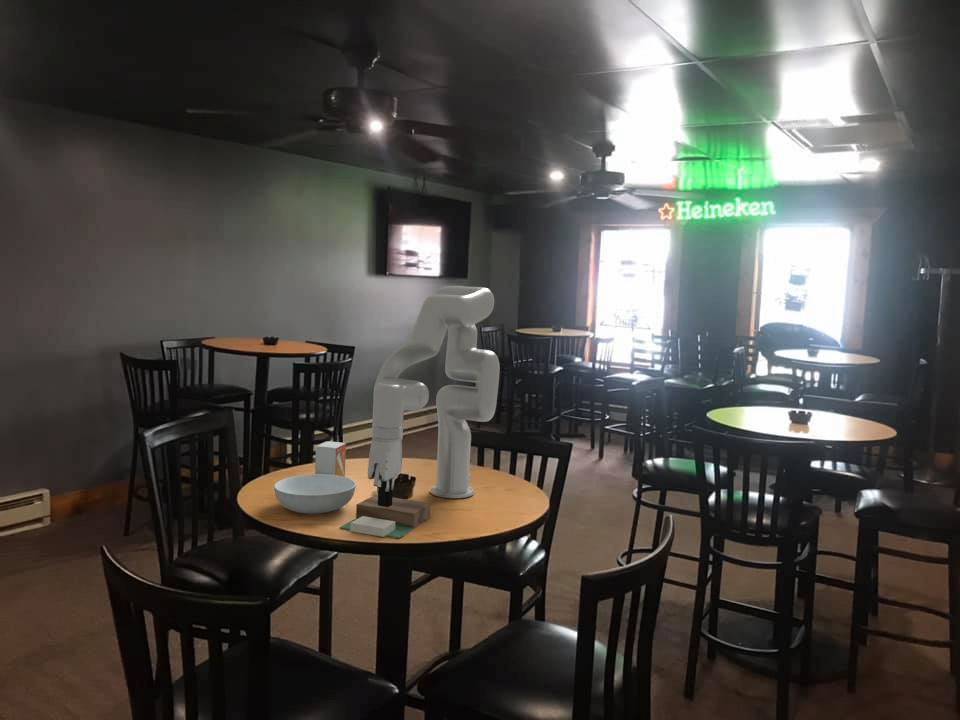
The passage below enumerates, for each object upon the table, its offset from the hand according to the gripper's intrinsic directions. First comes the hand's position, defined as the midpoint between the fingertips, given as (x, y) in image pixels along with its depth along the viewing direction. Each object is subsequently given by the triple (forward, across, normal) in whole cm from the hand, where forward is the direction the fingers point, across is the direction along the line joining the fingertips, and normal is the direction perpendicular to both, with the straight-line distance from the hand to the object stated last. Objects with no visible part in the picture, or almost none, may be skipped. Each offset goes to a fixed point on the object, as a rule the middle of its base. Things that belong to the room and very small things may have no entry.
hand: (384, 505), depth 185 cm
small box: (+5, -22, -29) cm, 37 cm away
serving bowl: (+5, -3, -22) cm, 23 cm away
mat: (+5, +4, 0) cm, 6 cm away
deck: (+5, -5, 0) cm, 7 cm away
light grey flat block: (+3, +6, 0) cm, 7 cm away
